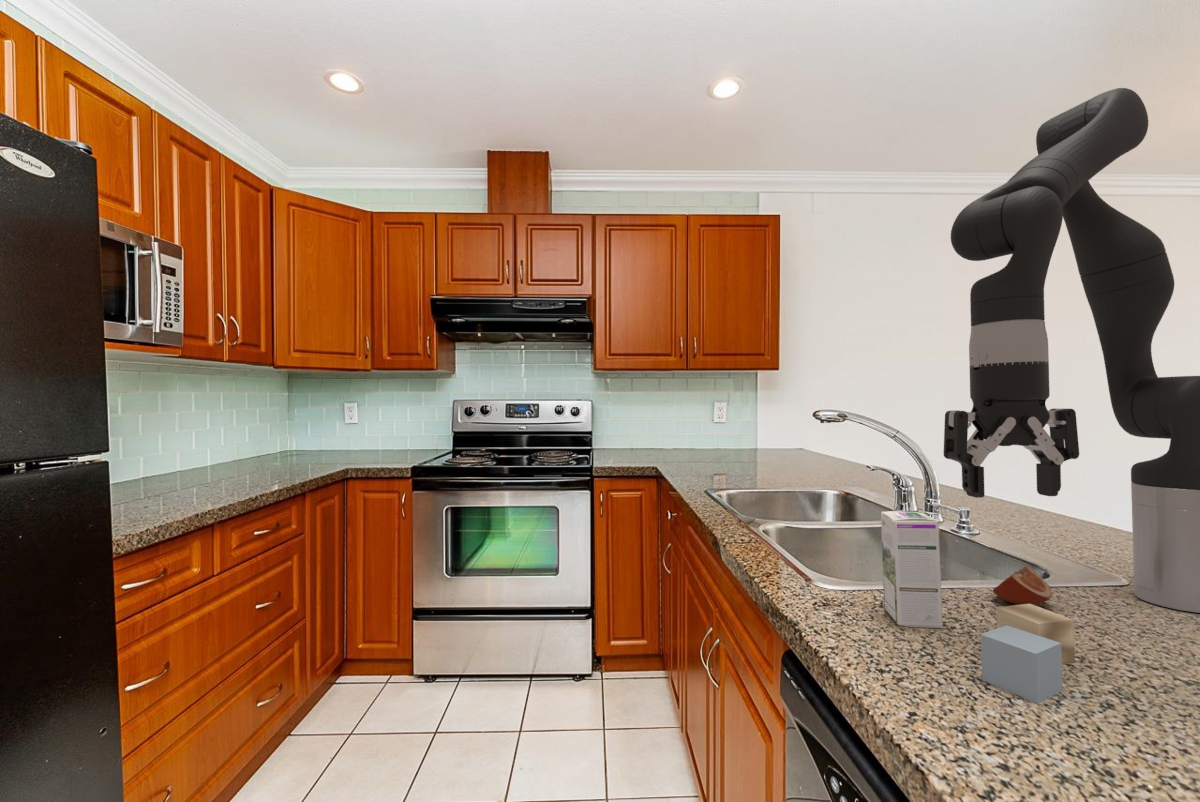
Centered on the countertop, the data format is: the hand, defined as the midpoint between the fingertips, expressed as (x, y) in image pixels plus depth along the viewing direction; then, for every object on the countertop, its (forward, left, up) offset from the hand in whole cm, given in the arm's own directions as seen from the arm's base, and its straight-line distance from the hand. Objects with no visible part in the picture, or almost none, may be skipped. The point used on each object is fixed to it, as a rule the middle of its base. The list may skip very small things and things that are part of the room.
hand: (1011, 495), depth 62 cm
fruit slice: (-15, -12, -19) cm, 27 cm away
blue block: (+7, +6, -19) cm, 21 cm away
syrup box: (+5, -11, -19) cm, 22 cm away
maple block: (-1, +1, -19) cm, 19 cm away
